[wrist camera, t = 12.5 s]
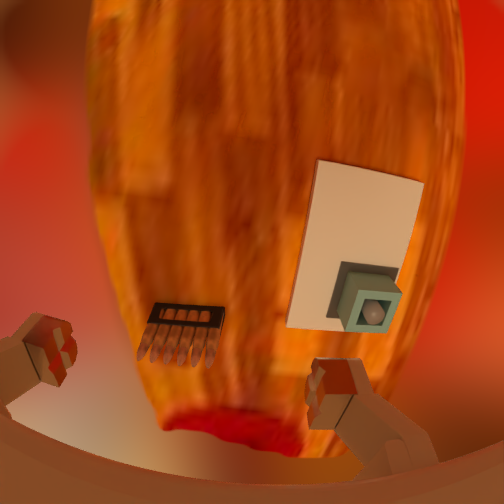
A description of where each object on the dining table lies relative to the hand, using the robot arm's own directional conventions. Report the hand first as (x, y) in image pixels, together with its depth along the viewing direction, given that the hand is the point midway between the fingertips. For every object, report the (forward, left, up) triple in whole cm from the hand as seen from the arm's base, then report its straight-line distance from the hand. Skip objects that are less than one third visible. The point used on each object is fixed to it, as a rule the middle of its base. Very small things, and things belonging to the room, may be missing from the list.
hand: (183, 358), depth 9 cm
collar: (+13, +19, -29) cm, 37 cm away
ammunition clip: (+20, -5, -31) cm, 37 cm away
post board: (+8, +17, -31) cm, 36 cm away
